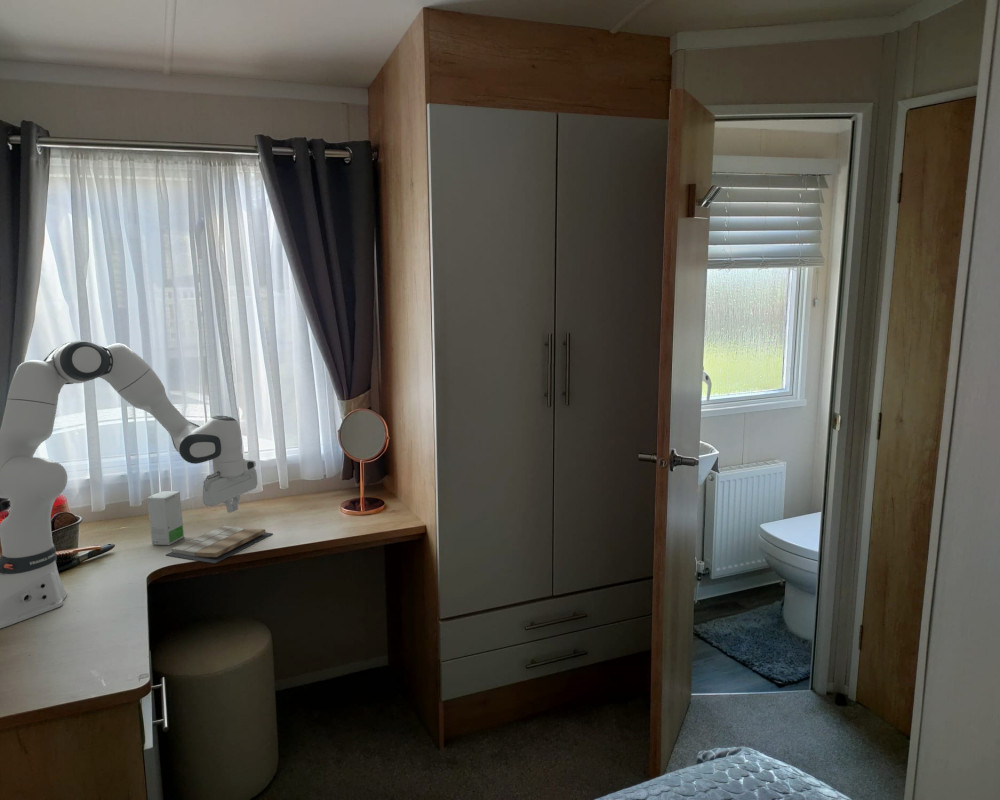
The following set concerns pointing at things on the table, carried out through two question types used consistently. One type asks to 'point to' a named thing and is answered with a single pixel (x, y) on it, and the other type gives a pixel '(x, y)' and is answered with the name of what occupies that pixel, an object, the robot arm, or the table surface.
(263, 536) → the underlay
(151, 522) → the skincare box
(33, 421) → the robot arm
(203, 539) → the laid floor
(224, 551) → the plank
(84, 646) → the table surface
